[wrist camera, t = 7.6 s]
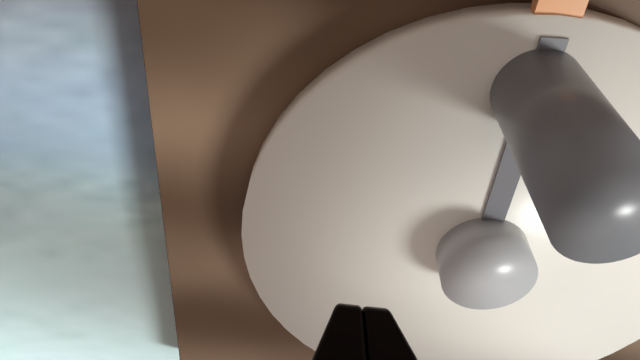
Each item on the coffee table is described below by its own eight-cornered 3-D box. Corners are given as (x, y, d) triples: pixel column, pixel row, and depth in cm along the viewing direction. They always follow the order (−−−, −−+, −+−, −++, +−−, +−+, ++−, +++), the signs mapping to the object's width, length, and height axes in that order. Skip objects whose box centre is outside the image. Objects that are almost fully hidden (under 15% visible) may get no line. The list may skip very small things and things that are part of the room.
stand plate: (629, 387, 27) (667, 469, 24) (189, 352, 27) (168, 431, 24) (995, -95, 14) (1188, -55, 11) (135, -184, 13) (71, -170, 10)
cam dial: (614, 379, 24) (684, 539, 19) (249, 354, 24) (224, 508, 19) (893, -33, 13) (1221, 84, 8) (238, -84, 13) (174, 5, 8)
